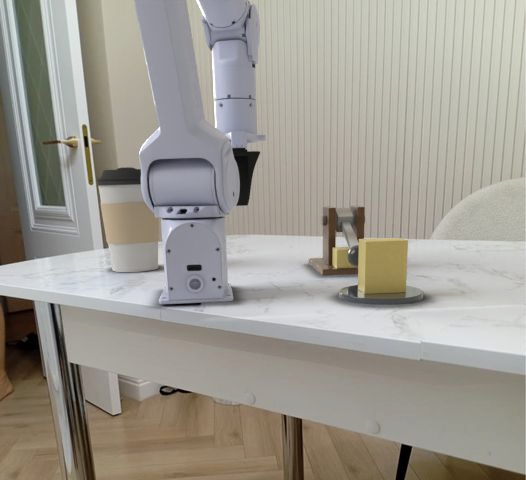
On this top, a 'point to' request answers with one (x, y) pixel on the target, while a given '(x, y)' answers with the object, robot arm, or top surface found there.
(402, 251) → the butter portion
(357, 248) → the ball knob lever
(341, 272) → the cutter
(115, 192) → the coffee cup
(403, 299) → the plate
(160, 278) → the top surface
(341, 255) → the butter block
